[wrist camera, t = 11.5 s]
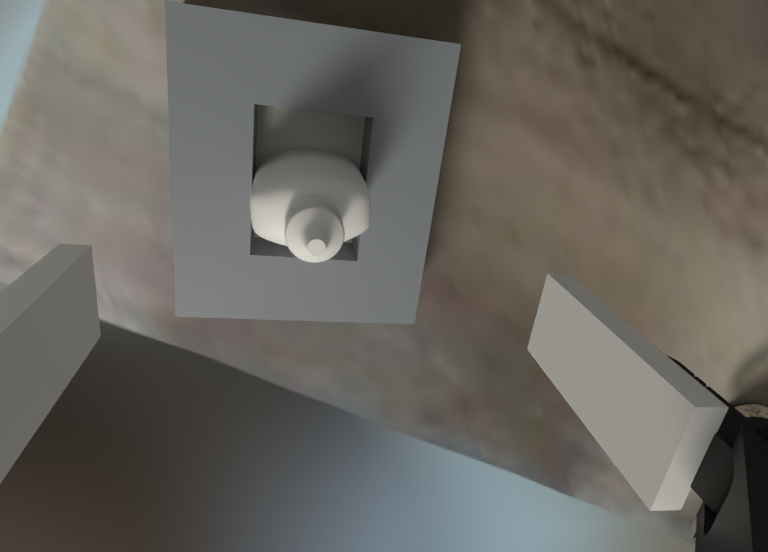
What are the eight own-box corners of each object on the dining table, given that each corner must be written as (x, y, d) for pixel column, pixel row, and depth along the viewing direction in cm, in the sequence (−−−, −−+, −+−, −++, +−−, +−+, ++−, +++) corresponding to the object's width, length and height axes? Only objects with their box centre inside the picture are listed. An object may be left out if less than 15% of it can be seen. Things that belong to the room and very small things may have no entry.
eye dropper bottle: (333, 228, 32) (355, 321, 21) (246, 188, 30) (222, 267, 19) (366, 165, 31) (408, 229, 20) (278, 119, 29) (271, 161, 18)
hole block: (182, 7, 27) (165, 0, 23) (440, 44, 30) (461, 44, 26) (188, 286, 33) (175, 316, 29) (401, 296, 36) (414, 324, 32)
